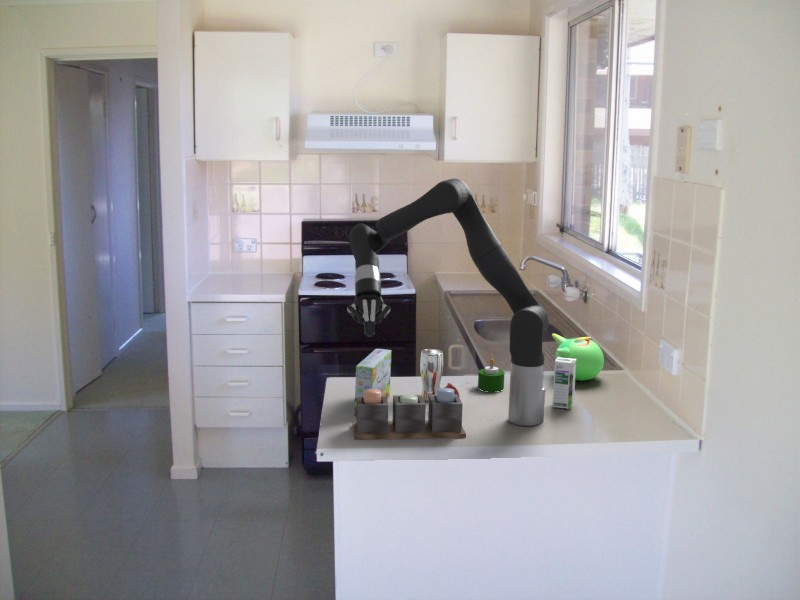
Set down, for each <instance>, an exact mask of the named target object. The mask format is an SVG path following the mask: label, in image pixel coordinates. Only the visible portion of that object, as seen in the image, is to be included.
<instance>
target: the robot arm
mask: <svg viewBox="0 0 800 600" xmlns="http://www.w3.org/2000/svg"><path fill="white" fill-rule="evenodd" d="M445 214H453V215H454V217H455V218H456V221H458V223H459V225H460V226H461V228H462V230H463V232H464V237H465V240H466V245H467V246H466V247H467V248H468V249H467V250H468V253H469V255H470V258H471V260H472V262H473V264H474V266H475V267H476V268H477V270H478V271H479V274H480V275H481V277H483V279H484V280H485V281H486V282H487V283H488V284H489V285H490V286H491V287H492V288H494V289H495V291H497V292H498V293H499V295H501V296H502V297H503V299H504V300H505V301H506V303H507V304H508V306H509V308H510V310H511V311H512V313H513V315H512V317H511V320H510V323H509V324H510V325H509V354H510V373H509V374H510V376H509V378H510V379H509V382H510V383H509V396H508V397H509V399H508V415H507V417H508V418H507V419H508V422H510V423H511V424H513V425H517V426H524V427H531V426H537V425H539V424H541V423H542V422H544V419H545V418H544V417H545V404H546V403H545V401H546V400H545V399H546V389H545V388H544V372H545V371H544V370H545V354H544V351H543V337H544V336H543V334H544V333H545V332H546V331H547V329H548V327H549V316H548V314H547V311H546V310H545V309H544V307H543V305H541V303H540V302H539V301H538V300H537V299H536V297H535V296H534V294H533V293H532V292H531V290H530V289H529V288H528V286H527V285H526V283H525V282H524V280H523V279H522V277H521V274H520V272H519V271H518V270H517V267H516V266H515V264H514V263H513V261H512V260H511V258H510V256H509V254H508V253H507V251H506V249H505V248H504V247H503V245H502V243H501V242H500V240H499V239H498V237H497V236H496V234H495V233H494V230H493V229H492V228H491V226H490V225H489V223H488V222H487V220H486V218H485V217H484V215H483V213H482V212H481V209H480V207H479V206H478V204H477V201H476V199H475V198H474V195H473V194H472V192H471V189H470V187H469V186H468V185H467V183H466V182H465V181H463V180H462V179H460V178H450V179H446V180H443V181H440V182H438V183H437V184H435V185H434V186H432V188H430V189H429V190H428V191H427V192H425V193H424V194H423V195H422V196H420V197H419V198H417V199H416V200H414V201H412V202H410V203H409V204H406V205H405V206H403V207H401V208H397V209H396V210H393V211H392V212H390V213H388V214H386V215H384V216H383V217H381V218H379V219H378V220H376V223H375V230H374V229H373V228H372V227H370V226H369V225H367V224H364V223H357V224H355V225H354V226H353V227H352V228H351V229H350V232H349V238H348V239H349V245H350V248H351V252H352V255H353V257H354V262H355V263H354V264H355V266H354V269H355V274H354V293H355V296H354V297H355V299H354V300H353V303H352V304H348V305H347V308H346V309H347V310H346V311H347V313H348V314H349V315H350V316H351V317H352V318H353V320H354V321H356V323H358V324H359V325H361V324H362V325H363V326H364V336H366V337H367V338H369V337H371V338H372V337H373V336H374V335H375V334H376V333H375V332H376V327H375V326H376V325H380V324H381V323H382V322H383V321H384V319H385V318H386V317H387V316H388V315H389V314H390V312H391V307H392V306H391V304H385V302H384V300H383V298H382V281H381V274H380V260H379V256H378V255H377V253H379V252H381V251H382V249H383V248H385V246H387V244H389V242H390V241H391V240H393V239H395V238H397V237H399V236H401V235H403V234H404V233H407V232H408V231H410V230H412V229H413V228H415V227H416V226H418V225H419V224H421V223H423V222H424V221H426V220H429V219H431V218H435V217H438V216H442V215H445ZM380 310H381V312H380V313H379V311H380ZM378 313H379V314H378ZM361 314H362V315H361ZM377 314H378V315H377ZM376 315H377V316H376ZM369 316H370V317H369Z"/></svg>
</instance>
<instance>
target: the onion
mask: <svg viewBox="0 0 800 600" xmlns="http://www.w3.org/2000/svg"><path fill="white" fill-rule="evenodd" d="M443 388H451V389H453V390H454V394H457V395H458V397H459V398H460V394H459V390H458V389H457V387H455V386H454V385H453V384H452V383H451V382H448V383H447V385H446V386H444V387H443Z"/></svg>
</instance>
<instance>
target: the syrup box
mask: <svg viewBox="0 0 800 600" xmlns="http://www.w3.org/2000/svg"><path fill="white" fill-rule="evenodd" d="M553 368H554V370H553V371H554V373H553V392H552V402H551V403H552V404H551V406H552V408H559V409H564V408H566V410H572V407H573V406H572V405H574V400H575V386H576V380H575V372H576V359H570V358H561V357H558V358H557V359H556V361H554V367H553Z"/></svg>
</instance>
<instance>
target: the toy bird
mask: <svg viewBox="0 0 800 600" xmlns="http://www.w3.org/2000/svg"><path fill="white" fill-rule="evenodd" d="M551 336H552V338H553V339H554V341H556V343H557V344H558V347H557V348H556V350H555V354H554V355H555V356H554V359H555V361H556V359H557V358H558V357H561V358H570V359H576V372H575V381H577V380H579V381H582V382H583V380H584V381H588V380H591V379H593V378H595V377H597V376H598V375H599V374H600V373H601V372H602V370H603V368H604V363H605V358H604V357H605V356H604V354H603V350H602V348H601V347H600V346H599V344H597V343H596V342H595V341H593V340H591V338H592V337H591V336H581V337H575V336H574V337H572V338H565V337H563V336H561V335H559V334H557V333H551ZM555 361H554V362H555ZM579 381H578V382H579Z"/></svg>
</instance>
